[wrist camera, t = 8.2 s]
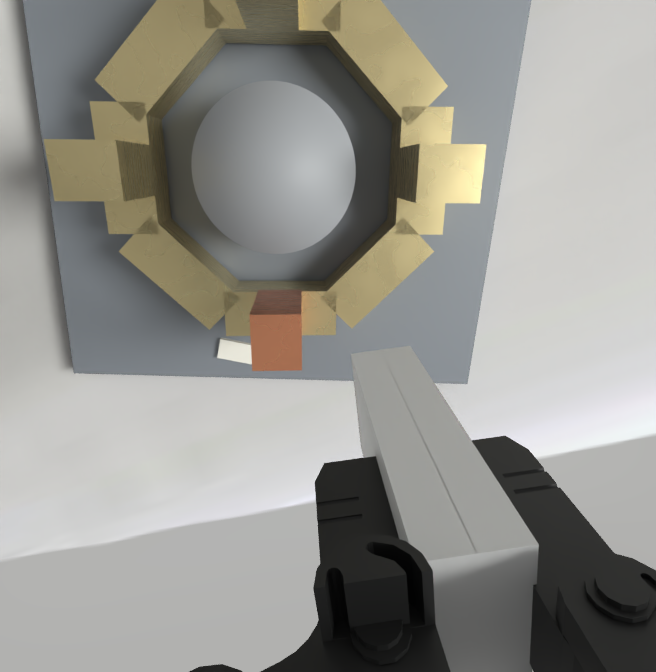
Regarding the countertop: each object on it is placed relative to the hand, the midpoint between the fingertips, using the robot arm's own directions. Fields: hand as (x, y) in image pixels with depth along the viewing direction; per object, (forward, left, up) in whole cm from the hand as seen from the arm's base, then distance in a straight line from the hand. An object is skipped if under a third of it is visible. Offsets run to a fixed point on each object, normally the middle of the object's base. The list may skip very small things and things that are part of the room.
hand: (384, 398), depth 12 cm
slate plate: (-3, +5, -17) cm, 18 cm away
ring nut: (-3, +5, -15) cm, 17 cm away
